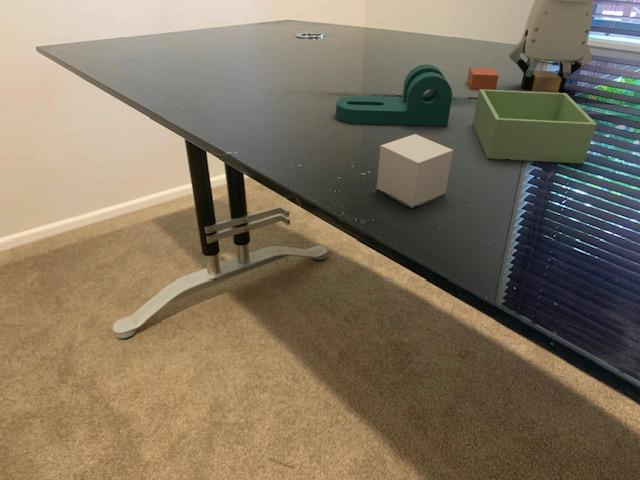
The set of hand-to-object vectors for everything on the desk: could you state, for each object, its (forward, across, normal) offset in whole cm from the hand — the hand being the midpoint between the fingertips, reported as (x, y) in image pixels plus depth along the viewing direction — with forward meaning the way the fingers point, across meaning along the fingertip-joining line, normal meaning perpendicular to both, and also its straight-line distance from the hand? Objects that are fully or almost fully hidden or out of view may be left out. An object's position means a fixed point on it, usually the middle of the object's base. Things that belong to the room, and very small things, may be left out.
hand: (539, 96), depth 94 cm
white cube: (+1, +26, +40) cm, 48 cm away
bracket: (+1, +28, +14) cm, 31 cm away
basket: (0, +8, +22) cm, 23 cm away
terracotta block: (0, +11, 0) cm, 11 cm away
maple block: (0, 0, 0) cm, 0 cm away
